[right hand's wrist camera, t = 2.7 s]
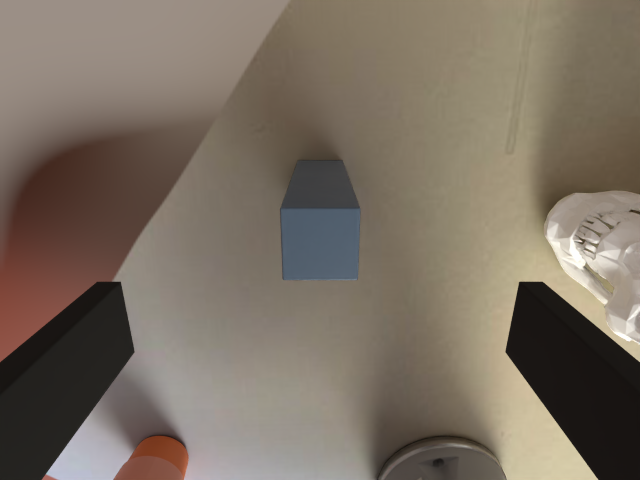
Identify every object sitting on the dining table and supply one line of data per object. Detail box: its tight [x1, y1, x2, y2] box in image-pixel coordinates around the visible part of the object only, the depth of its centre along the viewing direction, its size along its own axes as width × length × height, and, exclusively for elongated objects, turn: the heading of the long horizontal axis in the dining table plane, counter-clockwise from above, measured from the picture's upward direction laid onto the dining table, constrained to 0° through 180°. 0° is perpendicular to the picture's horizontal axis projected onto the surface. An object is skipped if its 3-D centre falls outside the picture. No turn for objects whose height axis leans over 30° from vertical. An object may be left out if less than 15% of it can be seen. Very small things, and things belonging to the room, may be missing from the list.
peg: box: [280, 160, 360, 280], centre depth 27 cm, size 4×4×16 cm
